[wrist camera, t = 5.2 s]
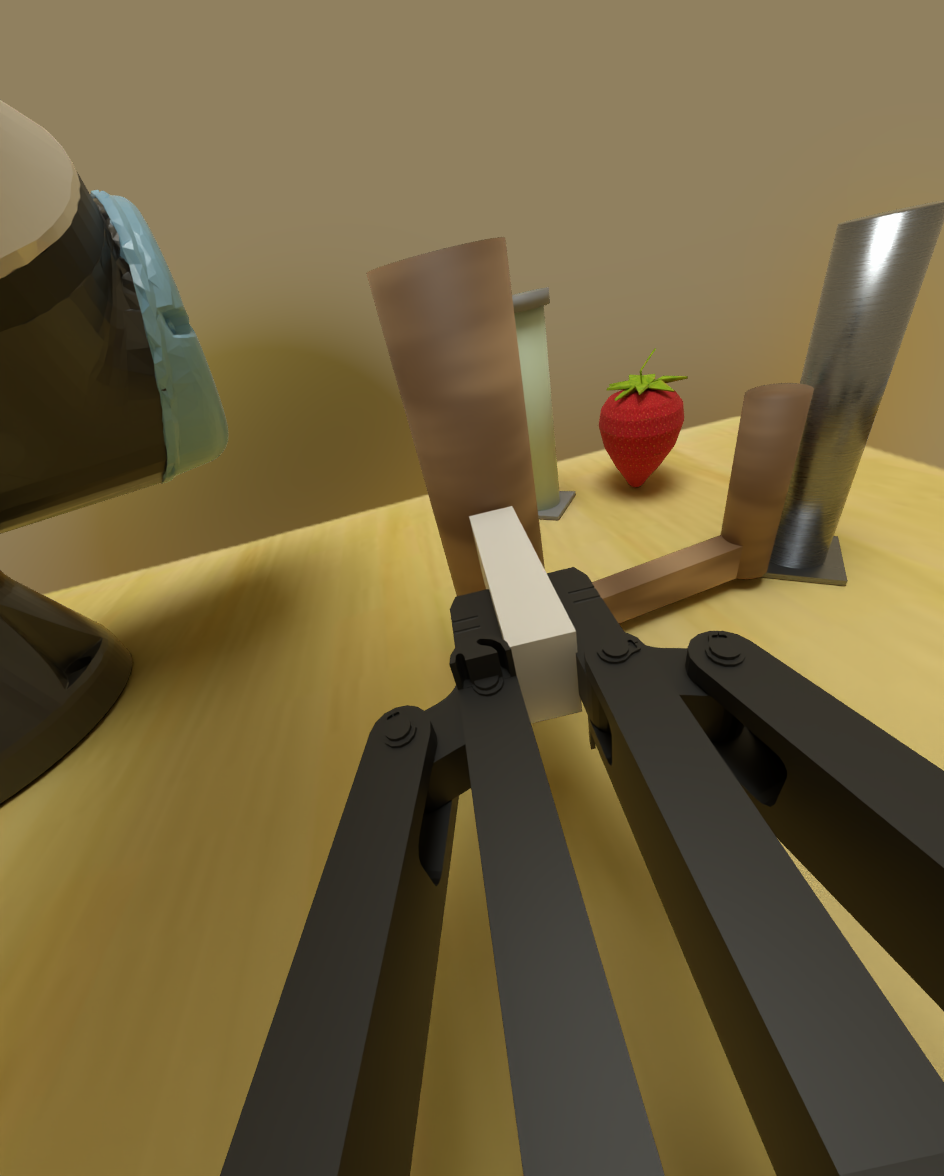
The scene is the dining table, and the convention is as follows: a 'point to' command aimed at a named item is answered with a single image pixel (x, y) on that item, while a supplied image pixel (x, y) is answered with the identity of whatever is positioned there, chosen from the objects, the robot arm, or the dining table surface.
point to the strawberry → (641, 424)
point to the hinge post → (849, 377)
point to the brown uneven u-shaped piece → (501, 440)
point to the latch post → (539, 401)
